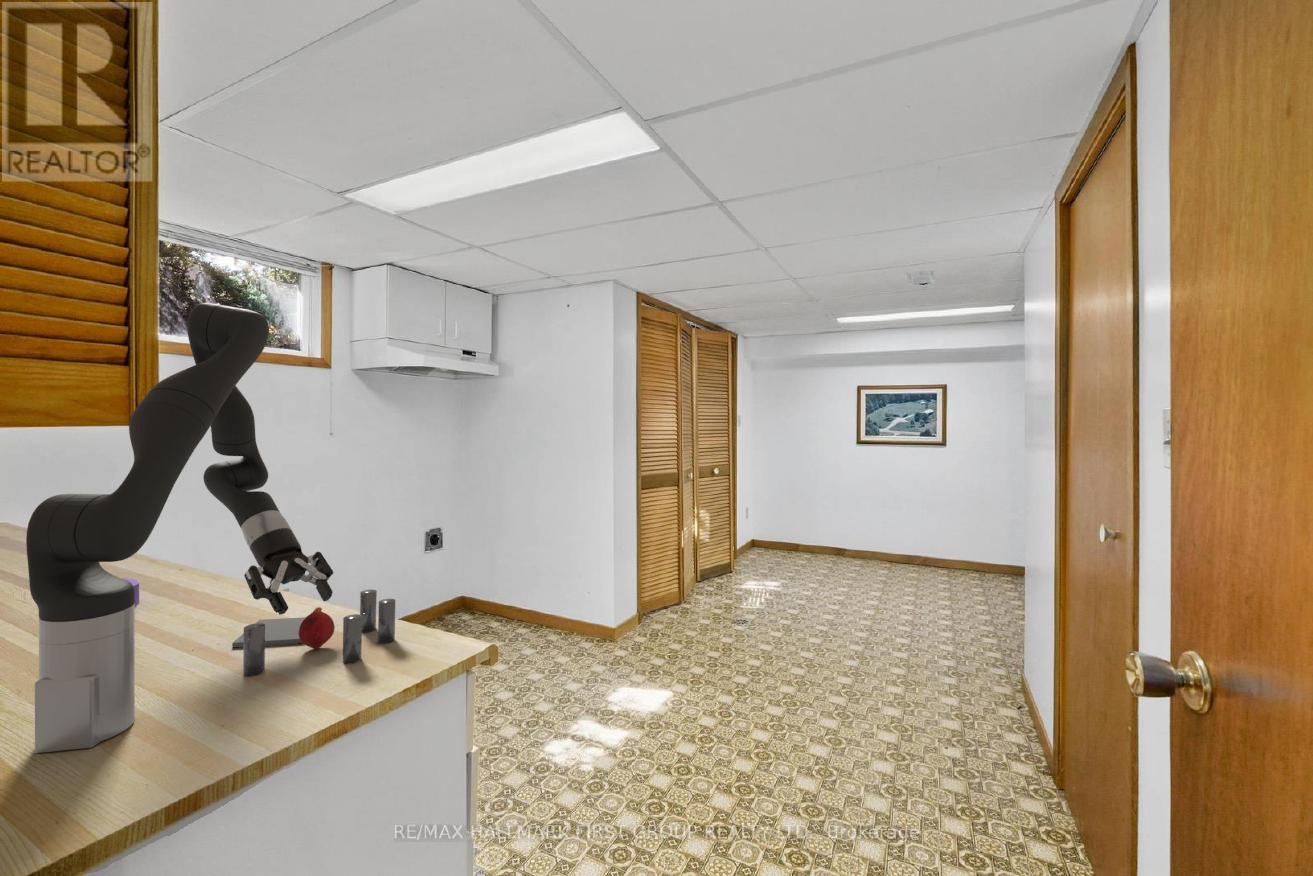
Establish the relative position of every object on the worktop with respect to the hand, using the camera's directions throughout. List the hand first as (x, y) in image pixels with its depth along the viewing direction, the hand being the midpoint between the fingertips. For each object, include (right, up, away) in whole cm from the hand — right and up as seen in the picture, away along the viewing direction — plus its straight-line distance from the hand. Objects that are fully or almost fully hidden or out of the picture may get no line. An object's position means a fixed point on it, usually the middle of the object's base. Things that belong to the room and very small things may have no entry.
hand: (307, 605), depth 106 cm
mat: (-9, -7, +5) cm, 13 cm away
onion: (+2, -8, -1) cm, 9 cm away
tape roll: (-55, -6, +15) cm, 57 cm away
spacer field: (+5, -8, 0) cm, 9 cm away
